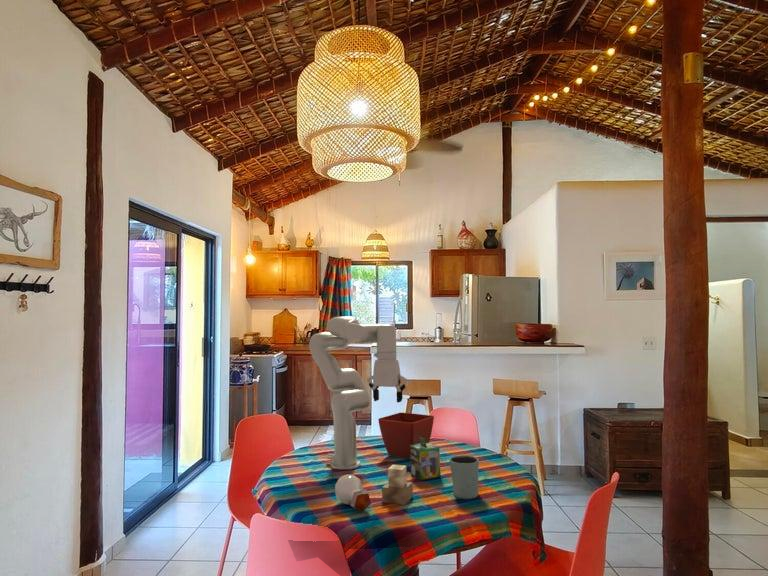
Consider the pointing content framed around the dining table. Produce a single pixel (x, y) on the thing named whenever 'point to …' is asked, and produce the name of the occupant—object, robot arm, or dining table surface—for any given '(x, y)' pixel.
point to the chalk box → (425, 460)
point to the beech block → (397, 476)
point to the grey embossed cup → (465, 476)
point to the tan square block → (397, 494)
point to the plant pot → (404, 432)
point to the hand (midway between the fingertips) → (387, 401)
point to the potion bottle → (352, 492)
